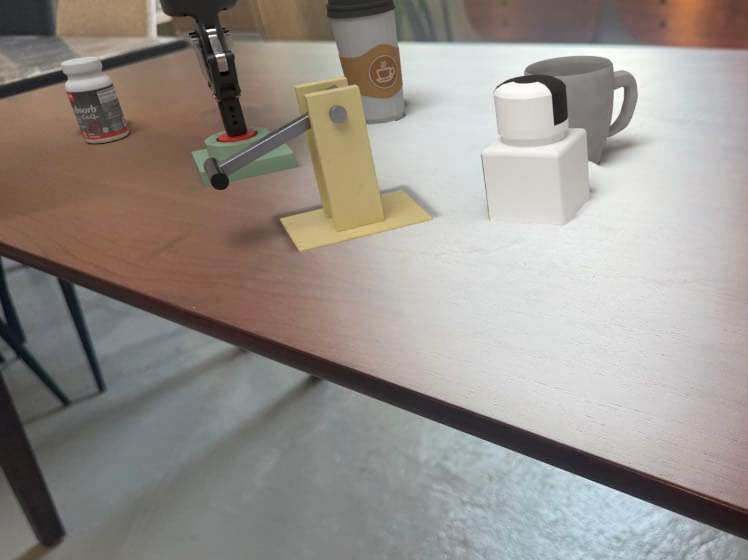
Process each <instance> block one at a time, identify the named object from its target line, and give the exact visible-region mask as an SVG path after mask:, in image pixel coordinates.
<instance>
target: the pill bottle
mask: <svg viewBox="0 0 748 560" xmlns="http://www.w3.org/2000/svg"><path fill="white" fill-rule="evenodd" d="M60 67H61V70H62V73H63V74H64V75H65V76H66V77H67V80H66V82H65V84H64V89H65V92H66V95H67V98H68V100H69V103H70V105H71V108H72V111H73V114H74V116H75V119H76V122H77V124H78V127H79V130H80V132H81V135H82V138H83V140H84V141H85V142H86V143H88V144H106V143H111V142H116V141H118V140H121V139H123V138H126V137H127V136H128V135H129V132H130V130H129V127H128V124H127V121H126V118H125V115H124V112H123V109H122V107H121V104H120V100H119V98H118V95H117V92H116V89H115V86H114V83H113V80H112V79H111V77H110V76H109V75H107V74H105V73H104V72H103V63H102V61H101V58H100V57H99V56H84V57H77V58H72V59H68V60H67V59H66V60H65V61H62V62H61V63H60Z"/></svg>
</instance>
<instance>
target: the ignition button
mask: <svg viewBox="0 0 748 560" xmlns="http://www.w3.org/2000/svg"><path fill="white" fill-rule="evenodd" d="M254 136H256V133H255V131H254V130H250V129H247V133H246V134H244V135H239V136H234V137H230V136H228V135H227V133H224V134H222V135H220V136H219V137H218V140H219V142H223V143H226V142H236V141H241V140H246V139H249V138H252V137H254Z"/></svg>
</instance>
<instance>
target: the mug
mask: <svg viewBox="0 0 748 560" xmlns="http://www.w3.org/2000/svg"><path fill="white" fill-rule="evenodd" d="M526 75H549V76H553V77H555V78H558V79H560V80H562V81H563V82H564V84H565V85H566V94H567V109H568V123H569V127H568V128H583V129H585V130H586V135H587V152H588V162H591V163H592V164H594V165H597V164H598V163H599V162H601V159H602V154H603V151H604V148H605V145H606V143H607V140H608V139H609V138H611V137H613V136H615V135H617V134H618V133H620V132H622V131H623V130H625V129H626V128H627V127H628V126H629V124H630V123H631V121H632V119H633V117H634V113H635V110H636V106H637V103H638V98H639V97H638V96H639V94H638V84H637V80H636V78H635V76H634V74H632V73H630V72H629V71H627V70H623V69H619V70H615V69H614V64H613V61H611V60H610V58H608V57H604V56H598V55H597V56H596V55H569V56H559V57H552V58H547V59H542V60H539V61H536V62H533V63H531V64H529V65H528V66H526V67H525V69H524V71H523V76H526ZM621 88H623V101H622V105H621V108H620V111H619V114H618V116H617V117H616V119H615V120H614V121H613V122H612V119H613V111H614V101H615V100H614V99H615V91H616V90H618V89H621ZM599 164H600V163H599ZM599 164H598V165H599Z"/></svg>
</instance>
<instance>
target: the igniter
mask: <svg viewBox="0 0 748 560" xmlns="http://www.w3.org/2000/svg"><path fill="white" fill-rule="evenodd" d="M246 127H247V129H250V130H254V131H255V133H256V136H254V137H252V138H249V139H246V140H241V141H236V142H226V143H223V142H219V140H218V137H219V136H220V135H222V134H224V133H226V131H225V130H222V131H220V132H217V133H213V134H210V136H208V137H207V138H206V139H204V141H203V142H204V145H205V148H203V149H198V150H193V151H191V153H190V154H191V156H192V159H193V162H194V165H195V169H196V172H197V174H198V176H199V178H200V181H201V183H202V186H203V188H208V187H213V186H212V185H211V183H210V181H209V178H208V176H207V174H206V172H205V170H204V167H203V165H204V162H205V160H206V159H208V158H216V159H217V160H219V161H220V162H221V161H223V160H225V159H227V158H228V157H230V156H232V155H234V154H235V153H237V152H239V151H240V150H242V149H244V148H246V147H247V146H249V145H251V144H253V143H254V142H256V141H258V140H260V139H261V138H263V137H265V136H267V135H268V134H270V133H271V132H270V131H269V129H268V128H267V127H262V126H261V127H260V126H246ZM296 168H298V163H297V159H296V156H295V152H294V151H293V150H292V148H291V147H290V146H289V145H288V144H287V142H286V143H284V144H283V145H281V146H279V147H277V148H276V149H274V150H272V151H270V152H269V153H267V154H265V155H263V156H262V157H260V158H258V159H256V160H255V161H253V162H251V163H250V164H248V165H246V166H244V167H243V168H241V169H239V170H237V171H236V172H234V173H232V174H230V175H229V176H228V178H229V183H231V182H235V181H240V180H245V179H250V178H254V177H259V176H264V175H268V174H272V173H278V172H282V171H287V170H292V169H296Z"/></svg>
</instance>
